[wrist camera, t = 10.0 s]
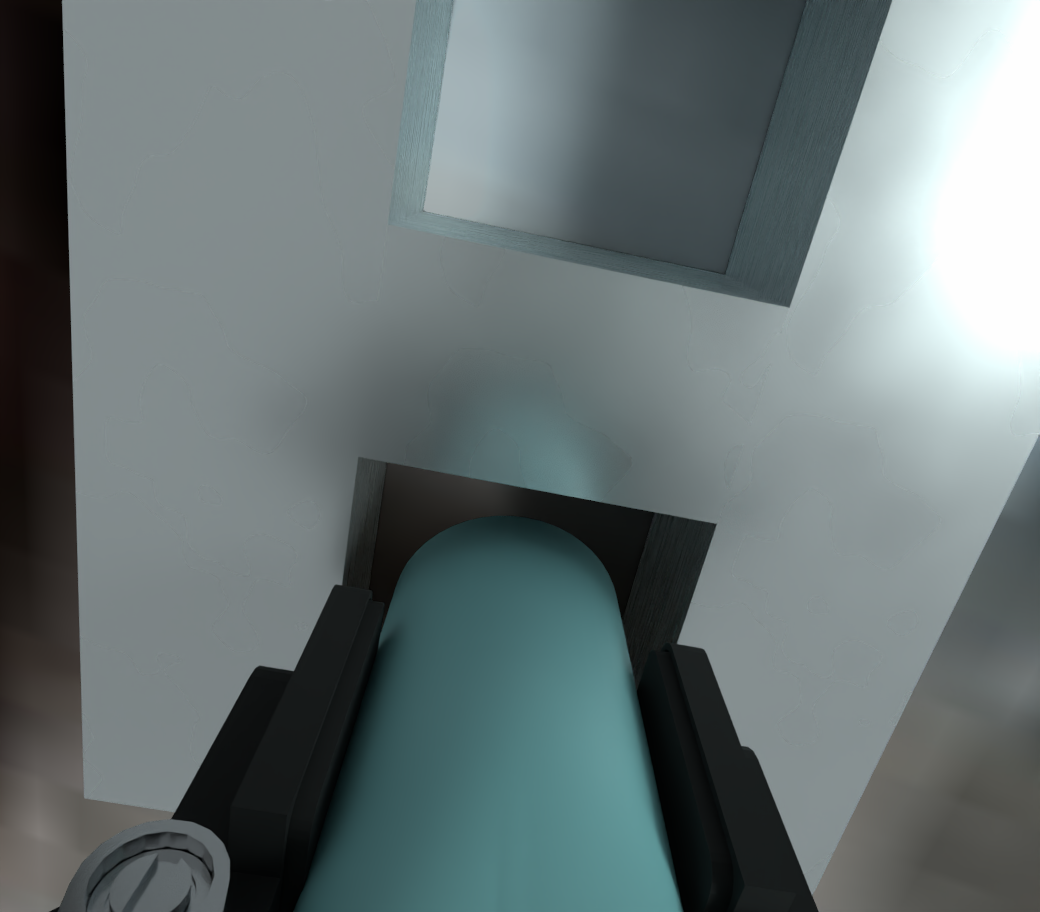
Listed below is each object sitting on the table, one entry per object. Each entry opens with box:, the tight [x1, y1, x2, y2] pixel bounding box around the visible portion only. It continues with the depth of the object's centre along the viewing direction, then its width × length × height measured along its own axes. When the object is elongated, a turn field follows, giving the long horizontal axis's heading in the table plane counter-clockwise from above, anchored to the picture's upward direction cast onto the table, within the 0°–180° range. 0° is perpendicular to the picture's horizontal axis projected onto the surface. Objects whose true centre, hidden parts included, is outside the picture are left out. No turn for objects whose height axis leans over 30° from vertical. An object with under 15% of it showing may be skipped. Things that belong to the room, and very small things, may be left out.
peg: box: [293, 516, 684, 912], centre depth 8 cm, size 4×4×10 cm
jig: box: [62, 0, 1040, 895], centre depth 12 cm, size 19×14×4 cm
